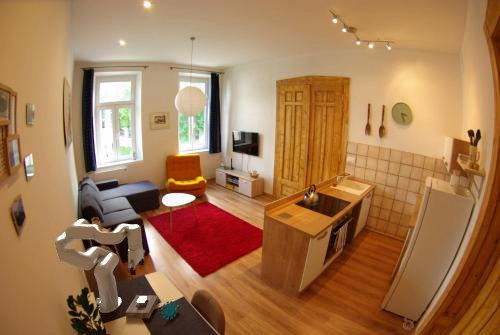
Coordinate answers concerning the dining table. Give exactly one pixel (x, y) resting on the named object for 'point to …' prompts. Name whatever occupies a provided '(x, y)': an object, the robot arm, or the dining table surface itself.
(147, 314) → the bore block
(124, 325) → the dining table surface
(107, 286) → the robot arm
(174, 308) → the gear
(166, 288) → the dining table surface
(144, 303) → the peg
